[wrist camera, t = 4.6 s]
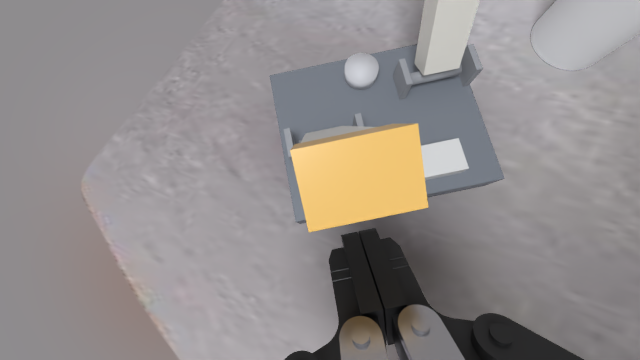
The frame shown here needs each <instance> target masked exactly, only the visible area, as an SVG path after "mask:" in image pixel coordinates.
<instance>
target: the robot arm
mask: <svg viewBox="0 0 640 360" xmlns="http://www.w3.org/2000/svg"><path fill="white" fill-rule="evenodd" d="M341 237H342V242H343V248H338V249H333V250H332V252H331V255H330V258H329V264H330V270H331V276H332V281H333V288H334V294H335V299H336V305H337V311H338V317H339V325H338V329H337V332H336V334H335V336H334V337H333V339H332V340H331V341H330V342H329V343H328V344H326V345H325V346H323V347H322V348H320V349H319V350H317V351H315V352H314V353H310V352H307V351H297V352H294V353H292V354H290V355H289V356H288V357H287V358H286V359H285V360H388V357H387V352H386V340H387V344H388V345H391V344H395V347H396V350H397V353H398V356H399V360H584V359H582V358H580V357H578V356H576V355H574V354H573V353H571V352H569V351H567V350H565V349H563V348H562V347H560V346H558V345H556V344H554V343H552V342H551V341H549V340H547V339H545V338H543V337H541V336H540V335H538V334H536V333H534V332H532V331H531V330H529V329H527V328H525V327H523V326H521V325H520V324H518V323H516V322H514V321H512V320H510V319H509V318H507V317H504V316H502V315H499V314H494V313H487V314H483V315H481V316H479V317H478V318H477V319H476V320H475V321H469V320H461V319H454V318H449V317H446V316H443V315H441V314H440V313H438V312H436V311H435V310H434V309H433V308H432V307H431V306H430V305H429V304H428V303H427V301H426V299H425V297H424V295H423V293H422V291H421V289H420V287H419V285H418V283H417V281H416V279H415V277H414V275H413V273H412V271H411V269H410V267H409V265H408V262H407V260H406V258H405V257H404V254H403V252H402V250H401V248H400V246H399V245H398V244H397V243H396V242H395V241H393V240H392V239H391V238H386V239H381V240H380V238H379V236H378V233H377V231H376V229H375V228H373V229H368V230H363V231H359V232H354V233H349V234H344V235H341Z"/></svg>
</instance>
